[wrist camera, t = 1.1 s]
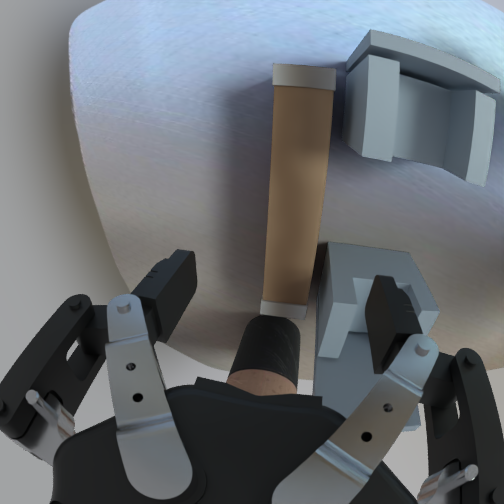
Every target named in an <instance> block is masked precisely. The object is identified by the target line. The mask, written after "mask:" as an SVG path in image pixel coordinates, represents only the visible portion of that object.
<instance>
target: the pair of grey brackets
mask: <svg viewBox="0 0 504 504" xmlns="http://www.w3.org/2000/svg"><path fill="white" fill-rule="evenodd" d="M346 71H347V72H350V73H349V74H348V75H347V76H346V89H345V106H344V119H343V131H342V141H343V142H344V143H346V144H347V145H348V146H349V147H351V148H352V149H353V150H354V151H356V152H357V153H358V154H359V155H361V156H362V157H368V158H373V159H379V160H384V161H389V162H392V156H394V157H399V158H403V159H407V160H412V161H416V162H420V163H424V164H428V165H431V166H435V167H439V168H442V169H444V170H446V171H448V172H450V173H452V174H454V175H456V176H457V177H459V178H461V179H463V180H464V181H467V182H470V183H473V184H476V185H479V186H482V187H485V183H486V179H487V174H488V168H489V163H490V157H491V150H492V142H493V134H494V123H495V107H496V100H494V99H493V98H491V97H489V96H487V95H485V94H483V93H500V79H499V78H497V77H495V76H493V75H492V74H490V73H488V72H486V71H484V70H482V69H480V68H478V67H477V66H475V65H472V64H470V63H468V62H466V61H464V60H462V59H460V58H457V57H455V56H453V55H451V54H448V53H446V52H443V51H441V50H438V49H436V48H433V47H430V46H427V45H425V44H422V43H419V42H416V41H413V40H409V39H406V38H403V37H399V36H396V35H392V34H388V33H384V32H380V31H376V30H371V29H370V31H369V32H368V33H367V35H366V36H365V37H364V39H363V40H362V41H361V43H360V44H359V45H358V47H357V48H356V49H355V51H354V52H353V53H352V55H351V56H350V57H349V59H348V60H347V63H346ZM376 275H385V276H392V277H393V278H394V280H395V282H396V285H397V287H398V288H399V289H403V291H404V292H405V293H406V294H407V295H408V296H409V298H410V300H411V303H412V306H413V308H414V310H415V313H416V315H417V318H418V321H419V323H420V326H421V329H422V332H423V334H424V335H426V336H427V335H428V333H429V331H430V330H431V328H432V326H433V324H434V322H435V320H436V318H437V316H438V315H439V313H440V311H439V308H438V306H437V304H436V302H435V300H434V298H433V296H432V294H431V292H430V290H429V288H428V286H427V284H426V282H425V281H424V279H423V277H422V275H421V273H420V271H419V269H418V268H417V266H416V264H415V262H414V261H413V259H412V257H411V255H410V254H409V253H408V252H401V251H394V250H387V249H380V248H372V247H365V246H358V245H350V244H343V243H335V242H328V244H327V250H326V255H325V261H324V266H323V271H322V276H321V281H320V286H319V294H318V296H317V300H316V339H315V362H314V379H313V394H312V396H323V398H322V405H323V406H326V407H329V408H331V409H333V410H335V411H337V412H339V413H340V414H342V415H343V416H344V417H345V418H348V417H349V416H350V415H351V414H352V413H353V412H354V410H355V409H356V408H357V407H358V406H359V404H360V403H361V402H362V401H363V400H364V398H365V397H366V396H367V395H368V393H369V392H370V391H371V389H372V388H373V387H374V386H375V384H376V383H377V382H378V380H379V379H380V378H381V376H382V375H383V374H374V370H373V363H372V356H371V349H370V343H369V337H368V331H367V325H366V320H365V306H366V302H367V299H368V296H369V293H370V290H371V287H372V284H373V281H374V278H375V276H376ZM420 425H421V422H420V416H419V410H418V404H417V406H416V408H415V410H414V411H413V413H412V415H411V417H410V418H409V420H408V422H407V423H406V425H405V427H404V428H403V430H402V431H401V432H404V431H414V430H416V429H417V428H418V427H419V426H420Z"/></svg>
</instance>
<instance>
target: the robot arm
mask: <svg viewBox="0 0 504 504" xmlns="http://www.w3.org/2000/svg"><path fill="white" fill-rule="evenodd" d="M196 288H197V273H196V262H195V254H194V252H193V251H187V250H180V249H177V250H176V251H175V252H174V253H173V254H172V255H171V257H170V258H169V259H166V258H165V259H164V260H162V261H160V262H158V263H157V264H156V265H155V266H154V267H153V268H152V269H151V272H149V273H148V274H147V275H146V277H144V278H143V280H142V281H141V282H140V283H139V284H138V285H137V287H136V288H135V289H134V290H133V291H132V293H131V294H123V295H119V296H117V297H115V298H113V299H112V300H111V301H110V302H109V303H108V305H92V302H91V300H90V298H89V297H88V296H87V295H84V294H78V295H74V296H72V297H70V298H68V299H67V300H66V301H65V302H64V303H63V304H62V305H61V306H60V307H59V308H58V309H57V311H56V312H55V313H54V314H53V315H52V316H51V318H50V319H49V320H48V321H47V322H46V323H45V325H44V326H43V327H42V328H41V329H40V331H39V332H38V333H37V334H36V336H35V337H34V338H33V339H32V341H31V342H30V343H29V345H28V346H27V347H26V348H25V350H24V351H23V352H22V354H21V355H20V356H19V358H18V359H17V360H16V362H15V363H14V365H13V366H12V367H11V369H10V370H9V372H8V373H7V374H6V376H5V377H4V379H3V380H2V382H1V383H0V430H1V431H2V432H3V433H4V434H5V435H6V436H7V437H8V438H9V439H11V440H12V441H13V442H15V443H16V444H17V445H19V446H20V447H21V448H23V449H24V450H25V451H28V452H30V453H31V454H33V455H34V456H36V457H37V458H38V459H41V460H44V461H45V462H47V463H48V464H50V465H51V466H52V467H53V492H52V498H51V501H50V504H504V439H503V433H502V428H501V423H500V419H499V414H498V411H497V407H496V402H495V399H494V395H493V392H492V388H491V385H490V382H489V379H488V376H487V373H486V370H485V367H484V364H483V361H482V359H481V357H480V356H479V355H478V354H477V353H476V352H475V351H474V350H472V349H469V348H462V349H460V350H459V351H458V352H457V354H456V355H455V356H452V355H448V354H445V353H442V352H439V349H438V346H437V344H436V343H435V342H434V340H432V339H431V338H430V337H428V336H426V335H424V334H423V332H422V329H421V326H420V323H419V321H418V318H417V315H416V313H415V310H414V308H413V306H412V303H411V300H410V298H409V296H408V295H407V294H406V293H405V292H404V291H403V289H399V288H398V287H397V285H396V282H395V280H394V278H393V277H392V276H385V275H376V276H375V278H374V281H373V284H372V287H371V290H370V293H369V296H368V299H367V302H366V306H365V320H366V325H367V331H368V337H369V343H370V349H371V356H372V363H373V370H374V374H383V375H382V376H381V378H380V379H379V380H378V382H377V383H376V384H375V386H374V387H373V388H372V389H371V391H370V392H369V393H368V395H367V396H366V397H365V398H364V400H363V401H362V402H361V403H360V404H359V406H358V407H357V408H356V409H355V410H354V412H353V413H352V414H351V415H350V416H349V417H348V418H345V417H344V416H343V415H342V414H340V413H339V412H337V411H335V410H333V409H331V408H329V407H326V406H323V405H322V398H323V396H312V395H301V394H292V393H291V394H280V395H266V396H258V395H254V394H252V393H249V392H247V391H244V390H242V389H239V388H237V387H235V386H232V385H230V384H228V383H224V382H219V381H214V380H210V379H206V378H201V377H197V379H196V382H195V384H194V385H182V386H176V387H173V388H169V389H167V387H166V385H165V382H164V378H163V376H162V372H161V369H160V366H159V362H158V359H157V356H156V352H155V349H154V344H155V343H156V341H160V342H164V343H167V341H168V339H169V337H170V335H171V334H172V332H173V330H174V328H175V327H176V325H177V323H178V321H179V320H180V318H181V316H182V314H183V313H184V311H185V309H186V307H187V306H188V304H189V302H190V300H191V299H192V297H193V295H194V294H195V291H196ZM75 340H77V342H78V344H79V345H78V346H77V348H76V349H75V351H74V352H73V353H72V355H71V357H70V358H69V359H68V361H67V360H66V356H67V352H68V350H69V349H70V347H71V346H72V344H73V343H74V342H75ZM105 360H107V368H108V376H109V383H110V389H111V396H112V402H113V407H114V412H115V416H113V417H111V418H109V419H107V420H105V421H103V422H101V423H99V424H96V425H95V426H92V427H90V428H88V429H85V430H83V431H81V432H79V433H76V434H75V430H74V427H75V423H74V418H73V417H74V415H75V413H76V411H77V409H78V407H79V405H80V403H81V402H82V400H83V398H84V396H85V395H86V393H87V391H88V389H89V387H90V386H91V384H92V382H93V380H94V379H95V377H96V375H97V373H98V371H99V370H100V368H101V367H102V365H103V363H104V362H105ZM456 401H458V405H459V410H460V417H459V419H458V414H457V408H456V403H455V402H456ZM418 403H422V404H424V412H425V420H426V431H427V444H428V462H429V463H428V465H429V477H428V478H427V479H426V480H425V481H424V483H423V484H422V486H421V489H420V492H419V494H418V496H417V499H418V500H416V499H415V497H414V496H413V495H412V494H411V493H410V492H409V491H408V489H407V488H406V487H405V486H404V485H403V484H402V483H401V482H400V480H399V479H398V478H397V477H396V476H395V475H394V473H393V472H392V471H391V470H390V469H389V468H388V466H387V465H386V464H385V463H384V462H383V461H382V459H383V458H384V456H385V455H386V454H387V452H388V451H389V449H390V448H391V446H392V445H393V444H394V442H395V441H396V439H397V438H398V436H399V434H400V433H401V431H402V430H403V428H404V427H405V425H406V423H407V422H408V420H409V418H410V417H411V415H412V413H413V411H414V410H415V408H416V406H417V404H418Z"/></svg>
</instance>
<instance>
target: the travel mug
mask: <svg viewBox="0 0 504 504" xmlns="http://www.w3.org/2000/svg"><path fill="white" fill-rule="evenodd" d="M299 354H300V332H299V330H298V328H297V326H296V325H295V324H294V323H293V322H291V321H290V320H288V319H286V318H284V317H278V316H271V315H263V316H259V317H256V318H254V319H253V320H252V321H250V323H249V324H248V325H247V327H246V330H245V332H244V335H243V337H242V340H241V343H240V346H239V348H238V351H237V354H236V357H235V359H234V362H233V365H232V368H231V370H230V373H229V376H228V379H227V382H226V383H228V384H230V385H232V386H235V387H237V388H239V389H242V390H244V391H247V392H249V393H252V394H254V395H258V396H266V395H280V394H291V393H292V394H297V384H298V370H299Z"/></svg>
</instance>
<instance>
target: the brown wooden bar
mask: <svg viewBox="0 0 504 504" xmlns="http://www.w3.org/2000/svg"><path fill="white" fill-rule="evenodd" d="M272 85H273V86H274V104H273V127H272V148H271V168H270V186H269V204H268V221H267V238H266V254H265V269H264V284H263V295H262V299H261V308H260V314H264V315H271V316H278V317H285V318H293V319H301V320H305V316H306V311H307V305H308V294H309V289H310V284H311V278H312V273H313V267H314V261H315V255H316V249H317V243H318V236H319V229H320V223H321V216H322V208H323V201H324V193H325V185H326V176H327V167H328V157H329V147H330V136H331V123H332V109H333V93H334V91H335V88H336V69H333V68H325V67H316V66H306V65H293V64H273V83H272Z"/></svg>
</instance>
